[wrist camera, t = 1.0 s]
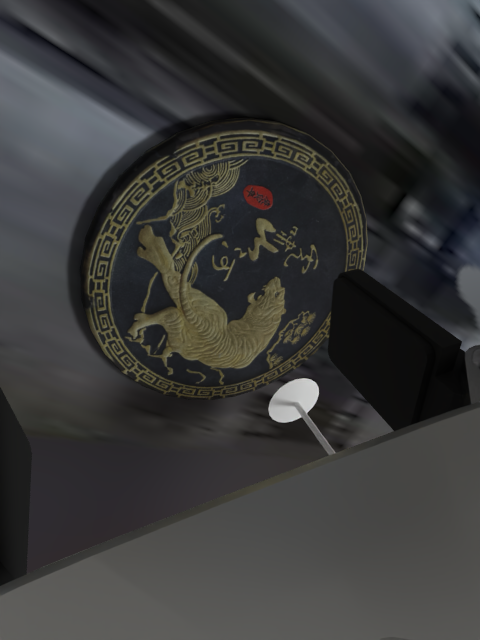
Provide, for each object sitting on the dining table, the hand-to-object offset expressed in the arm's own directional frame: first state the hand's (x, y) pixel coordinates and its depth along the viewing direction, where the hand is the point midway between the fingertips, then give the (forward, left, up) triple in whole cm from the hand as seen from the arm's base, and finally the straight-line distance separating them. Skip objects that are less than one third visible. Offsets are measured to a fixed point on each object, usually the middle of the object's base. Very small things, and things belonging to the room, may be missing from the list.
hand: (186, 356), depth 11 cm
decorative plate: (+6, +16, -27) cm, 32 cm away
